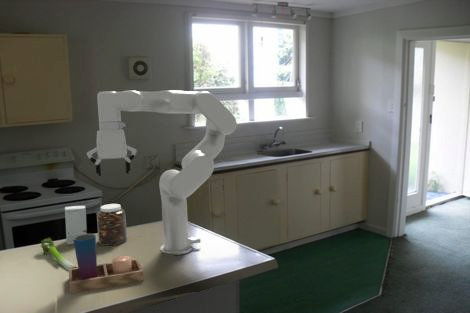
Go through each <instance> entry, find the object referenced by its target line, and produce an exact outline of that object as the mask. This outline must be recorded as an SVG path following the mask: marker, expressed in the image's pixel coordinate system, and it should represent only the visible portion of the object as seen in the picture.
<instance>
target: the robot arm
mask: <svg viewBox="0 0 470 313" xmlns="http://www.w3.org/2000/svg"><path fill="white" fill-rule="evenodd" d="M96 96H97V97H96V98H97V101H96V102H97V111H98V126H99V127H98V128H99V130H96V147H94V148H92V149H91V150H89V151H87V152H86V156H87V157H88V159H89V160H90V162H92V163H93V164H94V165H95V174H97V175H98V177H101V176H102V172H101V171H102V169H101V164H100V163H101V161H103V160H112V159H115V160H116V159H124V160H125V162H124V163H125V164H124V166H125V167H124V168H125V173H126V174H128V175H129V173H130V171H131V162H132V160H134V158H135V157H136V155H137V152H138V150H137V149H136V148H134V147H131V146H129V145H127V142H126V141H127V140H126V134H125V131H124V129H122V128H124V127H126V122H123V121H122V116H121V111H122V112H133V113H134V112H152V113H153V112H155V113H159V114H178V115H179V114H181V115H182V114H186V115H187V114H188V115H190V114H191V115H193V114H195V115H200V114H201V115H203V116H204V118H205V134H204V137H203V138H202V140H200V141H199V143H198V144H197V145H195V147H192V148H193V149H191V150H190V151H189V152H188V153H187V154H185V155H184V157H183V158H182V160H181V168H182V169H181V170H177V169H174V168H173V169H167V170H166V171H164V172H163V173H162V174H161V175H160V178H159V183H158V184H159V191H160V192H159V193H160V198H161V211H162V212H161V214H162V215H161V216H162V230H163V231H162V232H163V244H162V245H160V247H159V251H160V252H162V253H164V254H169V255H173V256H180V255H185V254H189V253H190V252H191V251H193V245H194V244H200V243H201V242H202V241H201V238H200V237H194V236H193V237H189V227H188V223H189V221H188V200H187V198H189V197H190V196H192V194H194V193H195V192H196V191H197V190H198V189H199V188H200V187H201V186H202V185H203V184H204V183H205V182H206V181H207V180H209V179H210V177H211V176H212V174H213V172H214V169H215V163H214V159H216V157H217V156H218V155H220V153H221V152H222V150H223V149H224V145H225V141H226V136H229V135H231V134H233V133H234V132H235V131H236V129H237V126H238V124H237V123H238V122H237V118H236V117H235V115H234V114H233V113H232V112H231V111H230V110H229V109H228V108H227V106H225V104H223V103H222V101H221V100H219V99H218V97H216V96H215V95H214V93H212V92H209V91H206V90H205V91H204V90H203V91H193V90H192V91H190V90H189V91H187V90H185V91H184V90H171V89H170V90H158V91H137V90H133V89H132V90H131V89H130V90H123V91H115V90H114V91H110V90H109V91H99V92H98V93H97V95H96ZM128 151H130V152H131V154H130V155H129V156H128ZM95 153H96V156H97V158H96V159H95V158H94V157H93V154H95Z"/></svg>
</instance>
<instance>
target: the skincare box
mask: <svg viewBox="0 0 470 313" xmlns="http://www.w3.org/2000/svg"><path fill="white" fill-rule="evenodd" d="M64 216H65V219H64V220H65V232H66V233H65V236H66V244H67V245H69V246H70V245H74V241H73V238H74V237H76V236H78V235H82V234H88V233H87V232H88V231H87V230H88V229H87V228H88V227H87V209H86V205H72V206H65V207H64Z"/></svg>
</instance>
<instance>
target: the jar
mask: <svg viewBox="0 0 470 313" xmlns="http://www.w3.org/2000/svg"><path fill="white" fill-rule="evenodd" d="M96 220H97V222H96V223H97V236H98V238H97V239H98V244H99V245H101V246H108V247H109V246H117V245H121V244H124V243H125V242H126V241H127V240H128V234H127V220H126V211H125V209H123V208H122V206H121V204H118V203H109V204H104V205H101V206H100V210H99V211H97V214H96Z"/></svg>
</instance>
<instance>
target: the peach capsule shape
mask: <svg viewBox="0 0 470 313" xmlns="http://www.w3.org/2000/svg"><path fill="white" fill-rule="evenodd" d="M131 259H132V256H129V255H121V256H116V257H114V258H113V259H112V263H113V275H115V274H121V273H127V272H132V264H131Z"/></svg>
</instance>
